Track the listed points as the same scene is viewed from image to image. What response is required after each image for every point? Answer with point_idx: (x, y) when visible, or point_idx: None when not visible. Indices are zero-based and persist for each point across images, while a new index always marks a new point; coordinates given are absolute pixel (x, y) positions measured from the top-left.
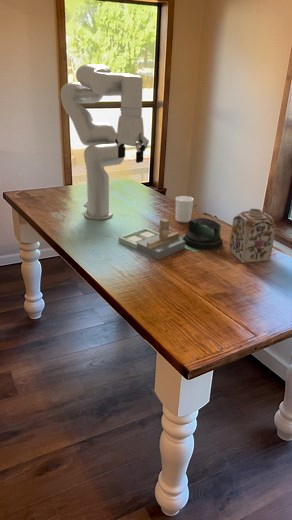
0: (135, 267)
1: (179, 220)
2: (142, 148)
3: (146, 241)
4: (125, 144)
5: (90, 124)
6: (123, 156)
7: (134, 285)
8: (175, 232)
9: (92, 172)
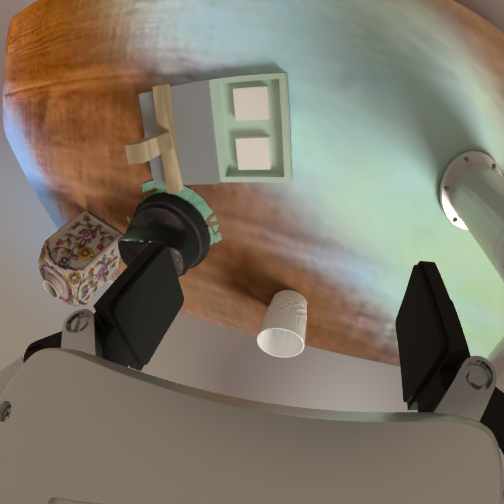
0: (150, 32)
1: (285, 291)
2: (46, 340)
3: (199, 106)
4: (243, 400)
5: None
6: (401, 311)
7: (106, 6)
8: (175, 189)
9: None
